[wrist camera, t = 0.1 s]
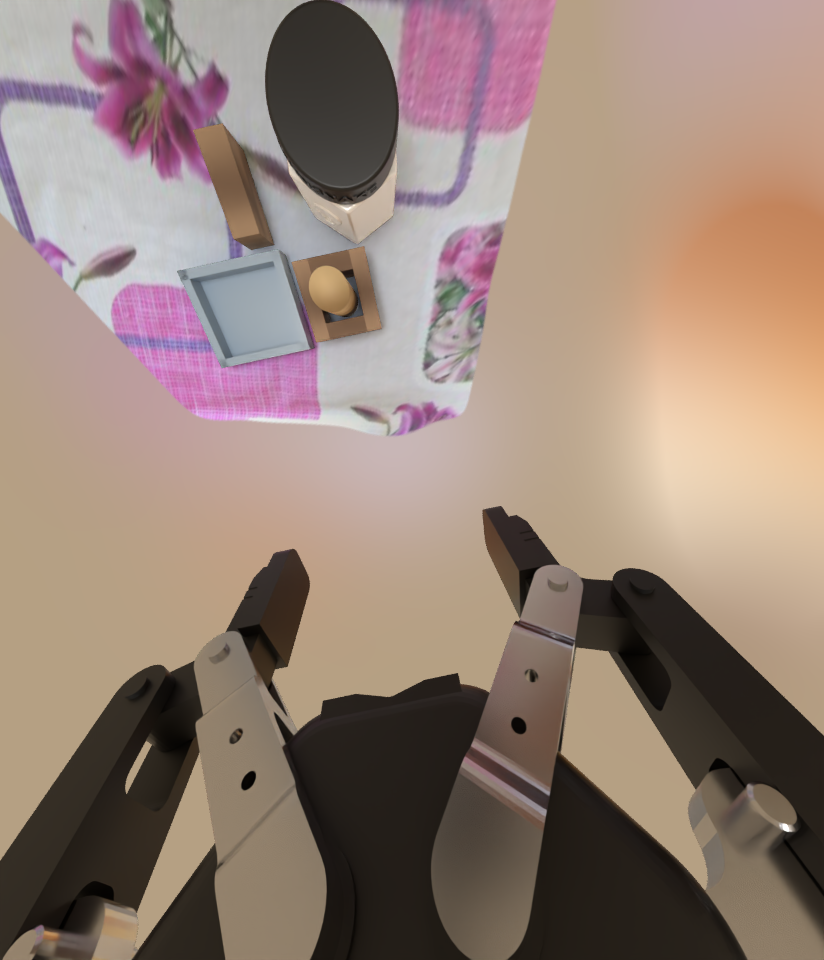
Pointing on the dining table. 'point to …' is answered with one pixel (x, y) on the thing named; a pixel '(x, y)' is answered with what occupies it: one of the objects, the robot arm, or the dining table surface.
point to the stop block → (234, 186)
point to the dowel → (332, 291)
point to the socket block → (348, 265)
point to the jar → (335, 115)
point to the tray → (248, 307)
